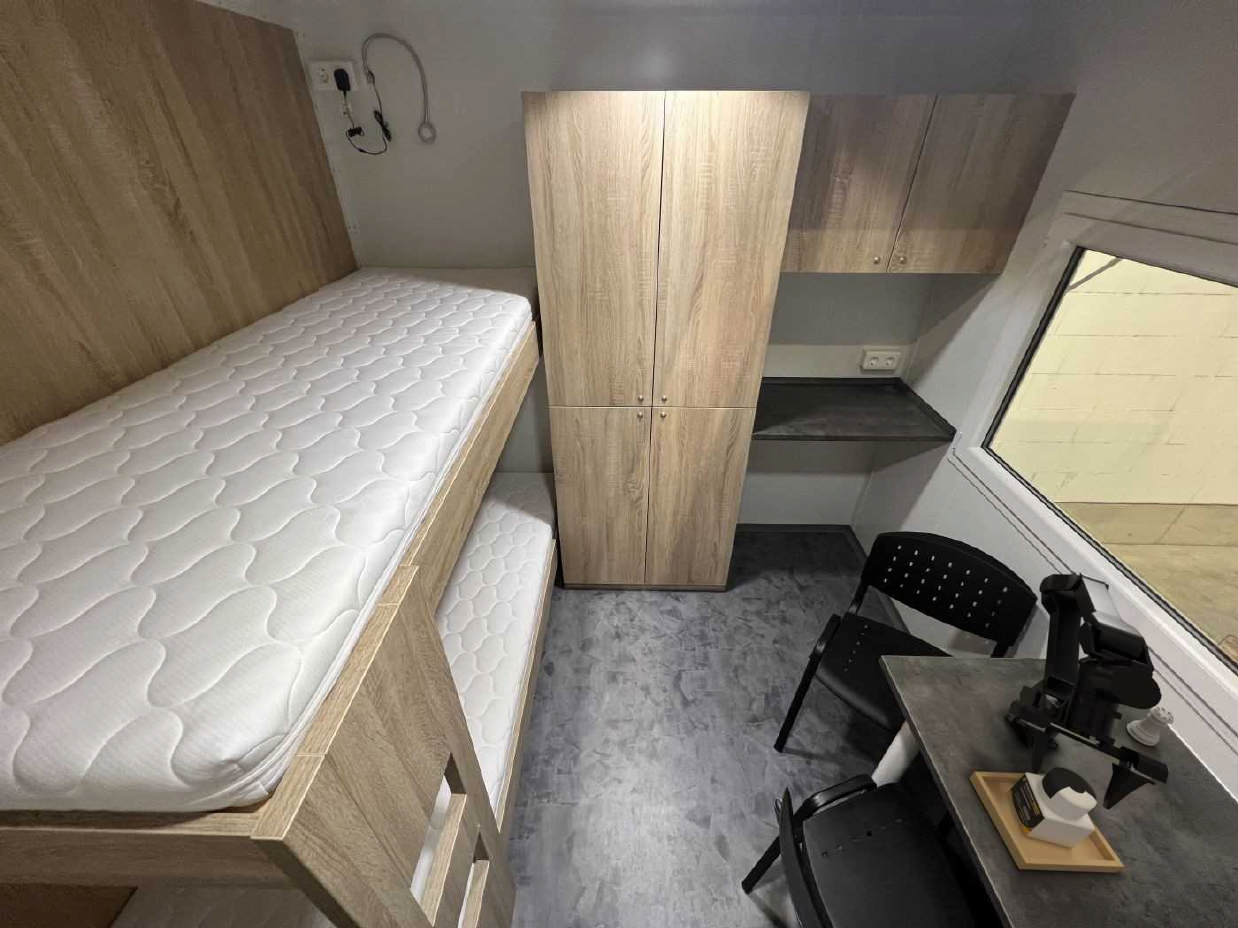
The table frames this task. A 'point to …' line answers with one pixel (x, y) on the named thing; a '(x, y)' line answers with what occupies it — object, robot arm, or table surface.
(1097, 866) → the tray
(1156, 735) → the rook chess piece
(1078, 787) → the medicine bottle
